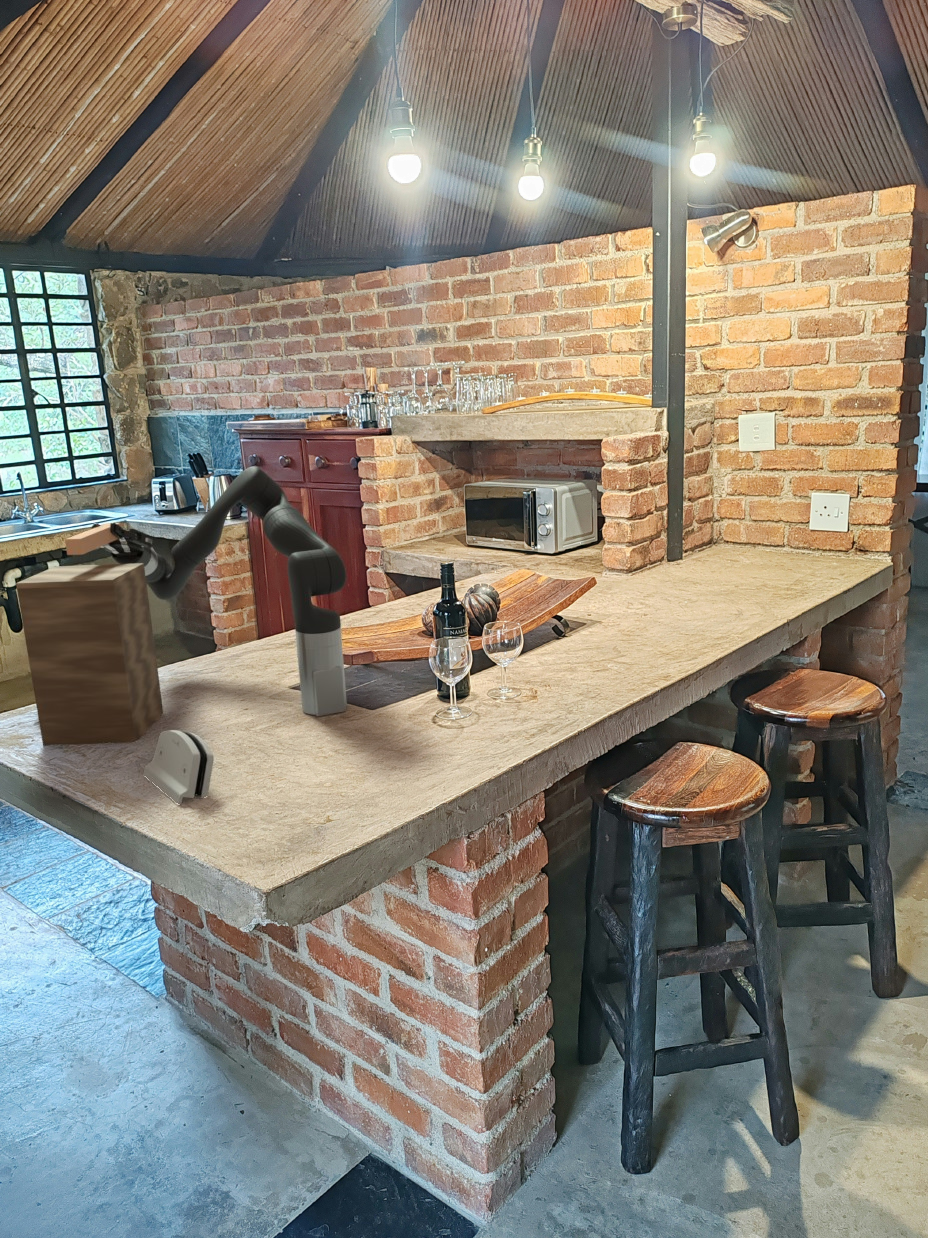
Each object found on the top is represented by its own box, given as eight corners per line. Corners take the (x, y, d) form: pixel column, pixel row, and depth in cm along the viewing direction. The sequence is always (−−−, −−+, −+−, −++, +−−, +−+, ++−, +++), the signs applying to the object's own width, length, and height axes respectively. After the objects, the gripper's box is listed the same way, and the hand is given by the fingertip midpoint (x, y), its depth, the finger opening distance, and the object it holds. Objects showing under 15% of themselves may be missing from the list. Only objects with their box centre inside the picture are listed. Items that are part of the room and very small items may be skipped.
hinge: (142, 775, 159) (154, 720, 159) (168, 776, 162) (180, 722, 162) (178, 806, 146) (192, 746, 146) (206, 807, 149) (219, 748, 149)
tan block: (108, 537, 191) (106, 523, 190) (122, 536, 191) (120, 522, 190) (67, 554, 172) (64, 539, 171) (83, 554, 171) (80, 538, 171)
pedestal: (78, 716, 190) (55, 566, 182) (163, 713, 190) (143, 563, 182) (43, 745, 175) (16, 583, 167) (135, 742, 174) (112, 579, 166)
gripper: (105, 540, 203) (70, 511, 186) (167, 538, 202) (138, 508, 186) (103, 572, 201) (67, 545, 184) (165, 570, 200) (136, 543, 184)
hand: (103, 527), depth 185 cm, fingers closed on tan block, 3 cm apart
